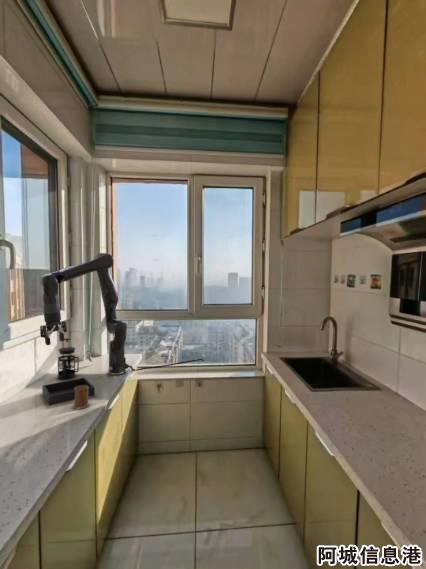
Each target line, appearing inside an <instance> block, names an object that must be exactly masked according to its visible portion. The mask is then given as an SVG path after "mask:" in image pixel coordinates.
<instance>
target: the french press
mask: <svg viewBox="0 0 426 569" xmlns="http://www.w3.org/2000/svg"><path fill="white" fill-rule="evenodd" d="M71 340H72V338H70V337H67V338H64V341H65V342H66V343H69V341H71ZM75 350H76V347H73V346H71V347H69V346H65V347H61V348H59V349H58V353H59V354H60V355H61V356H58V358H57V363H58V364H57V380H59V381H69V380H73V379H74V378H76V373H78V372H79V371H80V370H79V368H80V366H79V365H80V357H79V356H76V355H74V353H75ZM76 359H77V361H76ZM72 361H73V364H71V362H72ZM60 362H62V364H61V365H60ZM76 362H77V364H76ZM76 365H77V366H76ZM76 368H77V369H76Z"/></svg>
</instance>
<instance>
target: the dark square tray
mask: <svg viewBox="0 0 426 569" xmlns="http://www.w3.org/2000/svg"><path fill="white" fill-rule="evenodd" d="M80 385H87V386H89V394H88V397H92V396H95V386H94V385H93V384H92V383H91V382H90V381H89V380H88V379H87V378H86V377H80V378H75V379H74V378H73V379H69V380H62V381H58V382H54V383H47V384H43V385H42V388H41V389H42V392H41V393H42V395H43V396H42V397H43V398H44V400H45V401H46V403H47V405H48V406H53V405H58V404H61V403H66V402H71V401H74V388H75V387H76V386H80Z"/></svg>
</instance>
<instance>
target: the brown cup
mask: <svg viewBox="0 0 426 569" xmlns="http://www.w3.org/2000/svg"><path fill="white" fill-rule="evenodd" d="M88 394H89V386H87V385H80V386H76V387H75V388H74V400H73V407H74V408H76V409H77V408H78V409H77V411H80V410H84V409H87V408H88V405H89V396H88Z"/></svg>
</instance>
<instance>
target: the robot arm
mask: <svg viewBox="0 0 426 569" xmlns="http://www.w3.org/2000/svg"><path fill="white" fill-rule="evenodd" d="M114 264H115V258H114V255H112V254H110V253H106V252H99V253H97V254H95V255H94V258H93V259H92V260H89V261H86V262H85V261H84V262H80V263H77V264H73V265H70V266H66V267H64V268H61V269H59V270H57V271H53V272H50V273H45V274H43V275H42V276H41V277H40V278H39V284H40V286H42V290H43V293H42V304H43V305H42V306H43V307H42V308H43V309H42V311H43V320H44V323H45V324H44V325H43V324H42V325H40V326H39V331H40V338H44V343H45V345H46V346H50V345H51V335H52V334H53V333H54V332H57V333H58V336H59V342H65V340H64V339H65V333H67V332H68V328H67V322H66V321H65V320H62V315H61V307H60V303H59V302H60V301H59V294H58V293H59V284H62V283H65V282H69V281H71V280H74V279H77V278H81V277H82V276H85V275H88V274H91V273H93V272H96V274H97V277H98V283H99V288H100V294H101V300H102V303H103V309H104V314H105V315H104V316H105V326H106V331H107V333H109V335H110V334H111V335H113V339H112V340H110V341H109V343H108V375H110V376H119V375H123V374H126V370H127V369H129V368H130V369H131V371H134V372H137V371H143V370H149V369H157V368H165V367H171V366H176V365H181V364H182V365H183V364H186V363H192V362H198V361H202V362H205V360H204V359H203V358H197V359H191V360H186V361H180V362H175V363H174V362H173V363H170V364H169V363H168V364H162V365H155V366H147V367H141V368H138V369H137V368H136V369H135V368H133V366H132V365H130V364H128V363H127V361H126V357H125V351H126V350H125V348H126V341H127V333H128V331H127V330H128V326H127V323H126V321H125V320H122V319H118V318H117V312H116V311H117V307H118V303H119V292H118V289H117V285H116V284H115V282H114V280H113V278H112V276H111V273H110V272H111V270H110V269H111V268H112V267H113V266H114ZM61 320H62V321H61Z"/></svg>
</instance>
